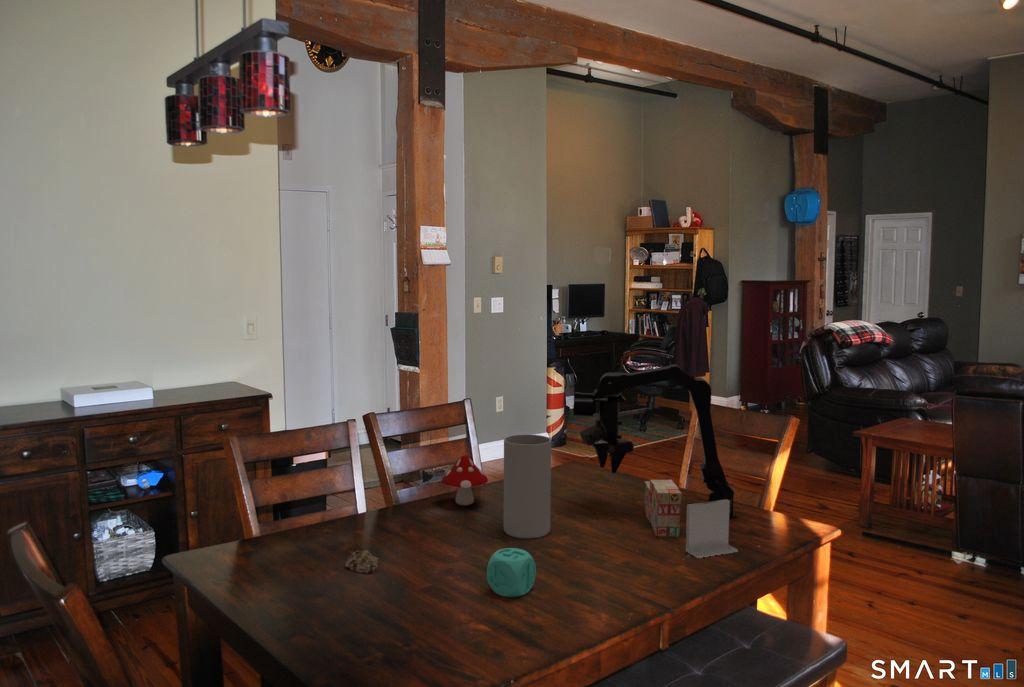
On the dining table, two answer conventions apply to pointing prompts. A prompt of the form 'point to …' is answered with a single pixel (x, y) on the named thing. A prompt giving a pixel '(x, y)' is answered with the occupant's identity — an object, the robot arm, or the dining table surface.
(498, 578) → the decorative dice
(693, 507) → the bookend
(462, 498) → the decorative mushroom
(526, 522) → the cylinder vase
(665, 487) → the stack of blocks
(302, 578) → the dining table surface
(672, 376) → the robot arm
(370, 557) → the mineral rock
